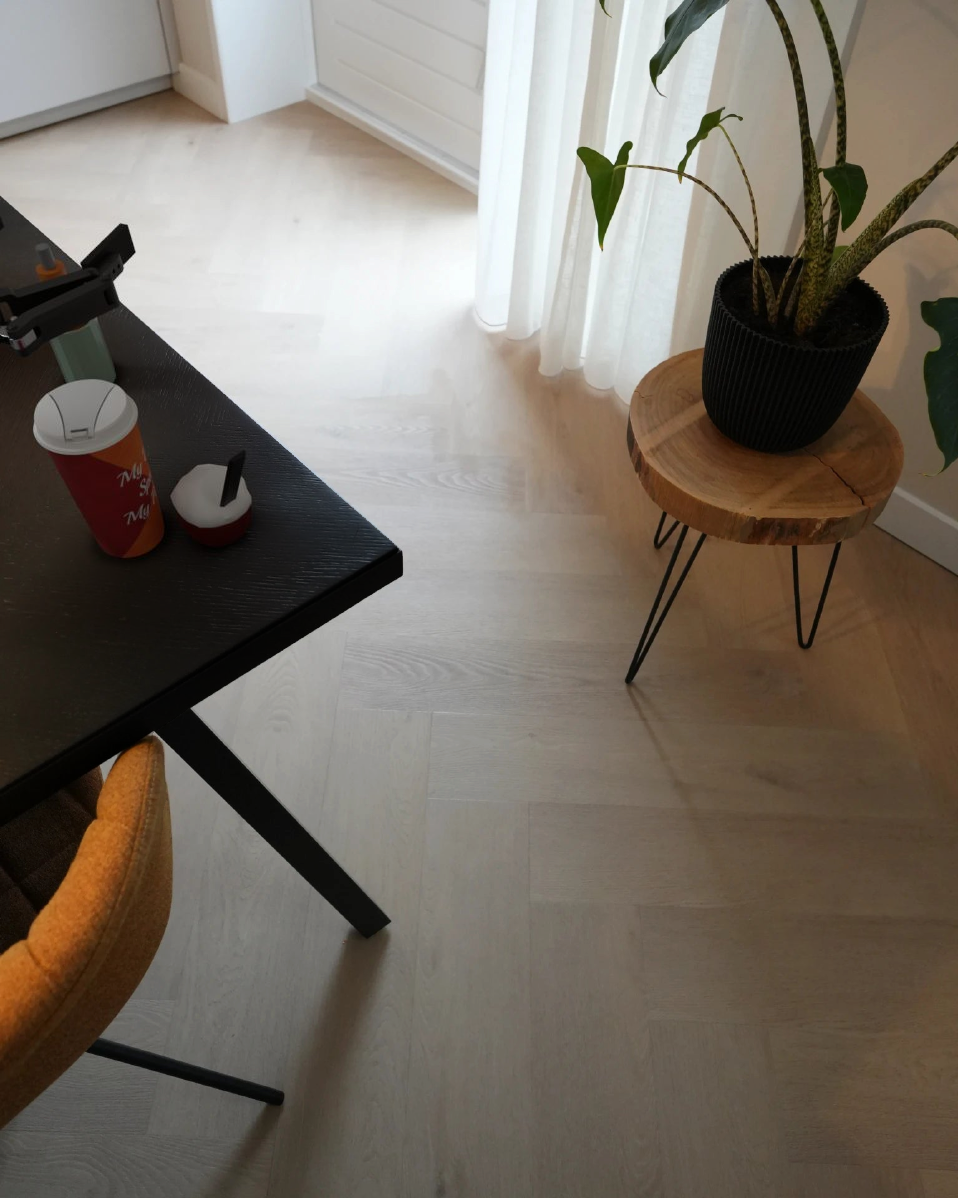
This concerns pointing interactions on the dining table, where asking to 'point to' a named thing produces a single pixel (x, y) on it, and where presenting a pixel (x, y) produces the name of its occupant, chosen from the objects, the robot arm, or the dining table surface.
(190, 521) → the cocoa
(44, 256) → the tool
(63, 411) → the paper cup
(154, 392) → the dining table surface
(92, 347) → the pencil cup
